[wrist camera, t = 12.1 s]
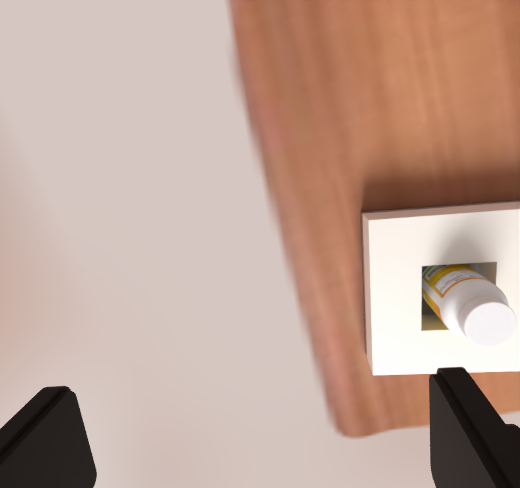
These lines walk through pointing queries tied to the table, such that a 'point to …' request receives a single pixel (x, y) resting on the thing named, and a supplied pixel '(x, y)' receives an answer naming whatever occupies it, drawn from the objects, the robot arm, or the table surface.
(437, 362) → the socket block
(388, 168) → the table surface
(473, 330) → the supplement bottle
